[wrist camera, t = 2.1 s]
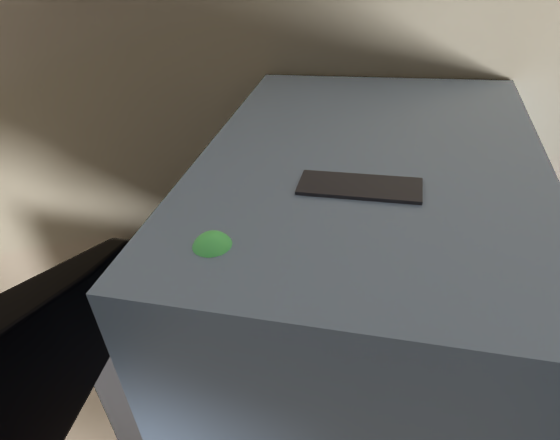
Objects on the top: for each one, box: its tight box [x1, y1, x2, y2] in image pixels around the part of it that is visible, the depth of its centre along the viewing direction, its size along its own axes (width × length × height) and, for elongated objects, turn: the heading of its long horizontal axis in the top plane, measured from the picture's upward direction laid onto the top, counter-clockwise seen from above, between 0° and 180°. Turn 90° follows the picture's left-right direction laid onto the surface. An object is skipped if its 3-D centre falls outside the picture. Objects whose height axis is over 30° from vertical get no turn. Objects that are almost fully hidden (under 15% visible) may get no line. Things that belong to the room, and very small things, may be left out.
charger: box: [86, 75, 560, 440], centre depth 9 cm, size 8×5×7 cm, turn 3°
